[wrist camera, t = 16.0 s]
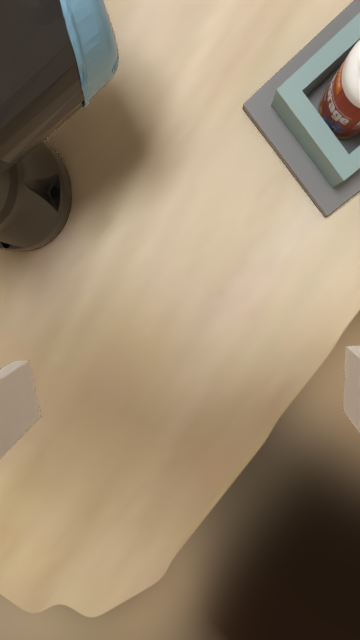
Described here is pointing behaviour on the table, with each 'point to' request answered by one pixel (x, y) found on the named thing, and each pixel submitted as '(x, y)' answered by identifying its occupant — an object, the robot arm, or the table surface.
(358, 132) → the pill bottle
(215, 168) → the table surface
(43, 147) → the robot arm
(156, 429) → the table surface
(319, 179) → the collar plate
